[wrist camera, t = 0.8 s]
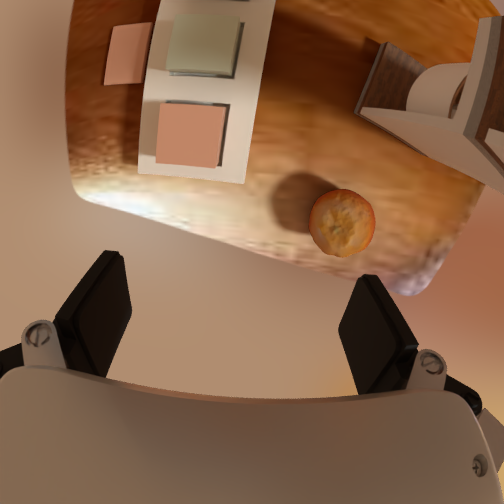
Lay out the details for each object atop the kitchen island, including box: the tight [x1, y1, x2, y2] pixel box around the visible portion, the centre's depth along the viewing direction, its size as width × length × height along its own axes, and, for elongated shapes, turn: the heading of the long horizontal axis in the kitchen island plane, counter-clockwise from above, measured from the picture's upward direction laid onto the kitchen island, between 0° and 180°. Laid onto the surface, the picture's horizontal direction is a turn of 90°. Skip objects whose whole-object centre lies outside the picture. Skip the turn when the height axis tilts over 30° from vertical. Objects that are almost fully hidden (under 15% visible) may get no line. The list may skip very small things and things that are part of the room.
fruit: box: [309, 189, 375, 258], centre depth 32 cm, size 8×8×8 cm
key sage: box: [165, 14, 240, 76], centre depth 20 cm, size 6×6×3 cm
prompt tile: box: [104, 22, 153, 85], centre depth 23 cm, size 8×5×1 cm, turn 171°
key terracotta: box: [155, 103, 226, 169], centre depth 25 cm, size 6×6×3 cm
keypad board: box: [138, 0, 276, 184], centre depth 23 cm, size 29×12×3 cm, turn 171°
